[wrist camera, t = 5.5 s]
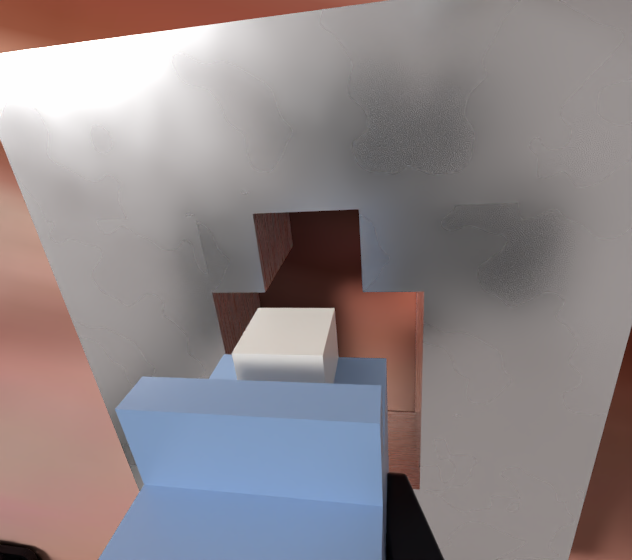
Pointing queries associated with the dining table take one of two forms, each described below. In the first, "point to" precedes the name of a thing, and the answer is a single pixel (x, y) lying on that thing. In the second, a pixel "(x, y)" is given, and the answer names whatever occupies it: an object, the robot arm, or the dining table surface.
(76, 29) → the dining table surface
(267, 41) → the mount plate
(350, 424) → the block
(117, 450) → the dining table surface
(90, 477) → the dining table surface
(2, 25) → the dining table surface
